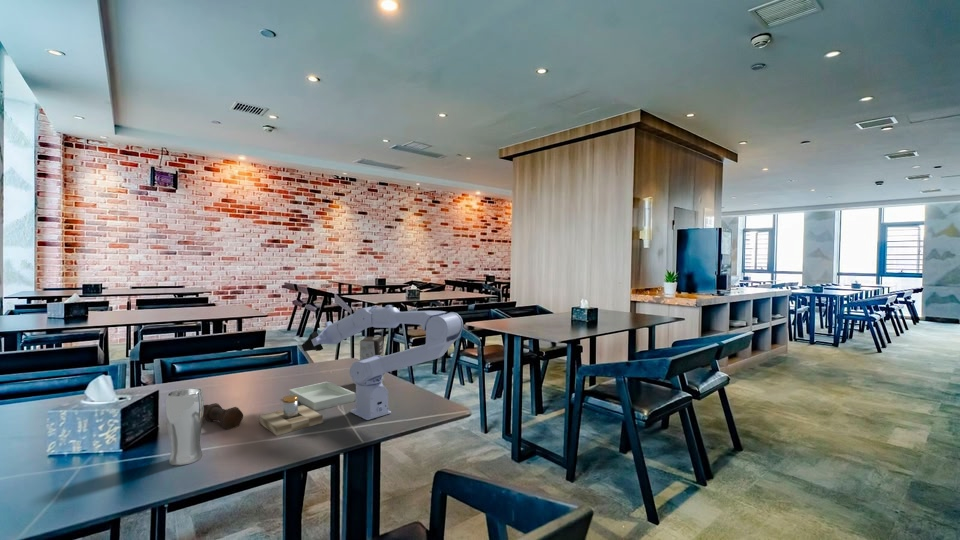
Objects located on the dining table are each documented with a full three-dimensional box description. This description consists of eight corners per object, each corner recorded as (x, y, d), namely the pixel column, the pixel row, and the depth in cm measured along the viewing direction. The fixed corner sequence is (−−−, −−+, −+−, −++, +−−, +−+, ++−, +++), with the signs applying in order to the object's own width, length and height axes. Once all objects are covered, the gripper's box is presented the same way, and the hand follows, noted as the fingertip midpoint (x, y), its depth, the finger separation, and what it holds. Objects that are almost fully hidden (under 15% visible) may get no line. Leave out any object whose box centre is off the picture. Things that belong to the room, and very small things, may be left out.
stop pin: (300, 422, 119) (300, 397, 118) (286, 426, 116) (286, 400, 116) (294, 419, 121) (294, 394, 121) (281, 422, 118) (281, 397, 118)
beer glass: (163, 459, 97) (162, 391, 97) (200, 449, 102) (199, 385, 102) (170, 470, 92) (168, 399, 92) (208, 459, 97) (207, 392, 97)
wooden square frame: (322, 422, 119) (322, 415, 119) (276, 435, 110) (276, 427, 110) (303, 411, 127) (303, 404, 127) (259, 422, 118) (259, 415, 118)
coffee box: (378, 388, 150) (377, 340, 150) (359, 387, 150) (359, 340, 150) (384, 380, 159) (384, 336, 159) (366, 380, 159) (366, 336, 159)
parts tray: (355, 400, 137) (355, 392, 137) (314, 411, 127) (314, 402, 127) (328, 388, 149) (327, 381, 149) (289, 397, 140) (289, 389, 140)
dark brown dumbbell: (207, 422, 124) (236, 432, 116) (190, 418, 120) (218, 428, 112) (217, 401, 126) (246, 409, 118) (201, 397, 123) (229, 405, 115)
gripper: (354, 310, 136) (323, 326, 141) (322, 322, 123) (289, 339, 128) (363, 331, 136) (332, 346, 141) (332, 345, 122) (299, 361, 128)
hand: (312, 344), depth 134 cm, fingers open, 7 cm apart
